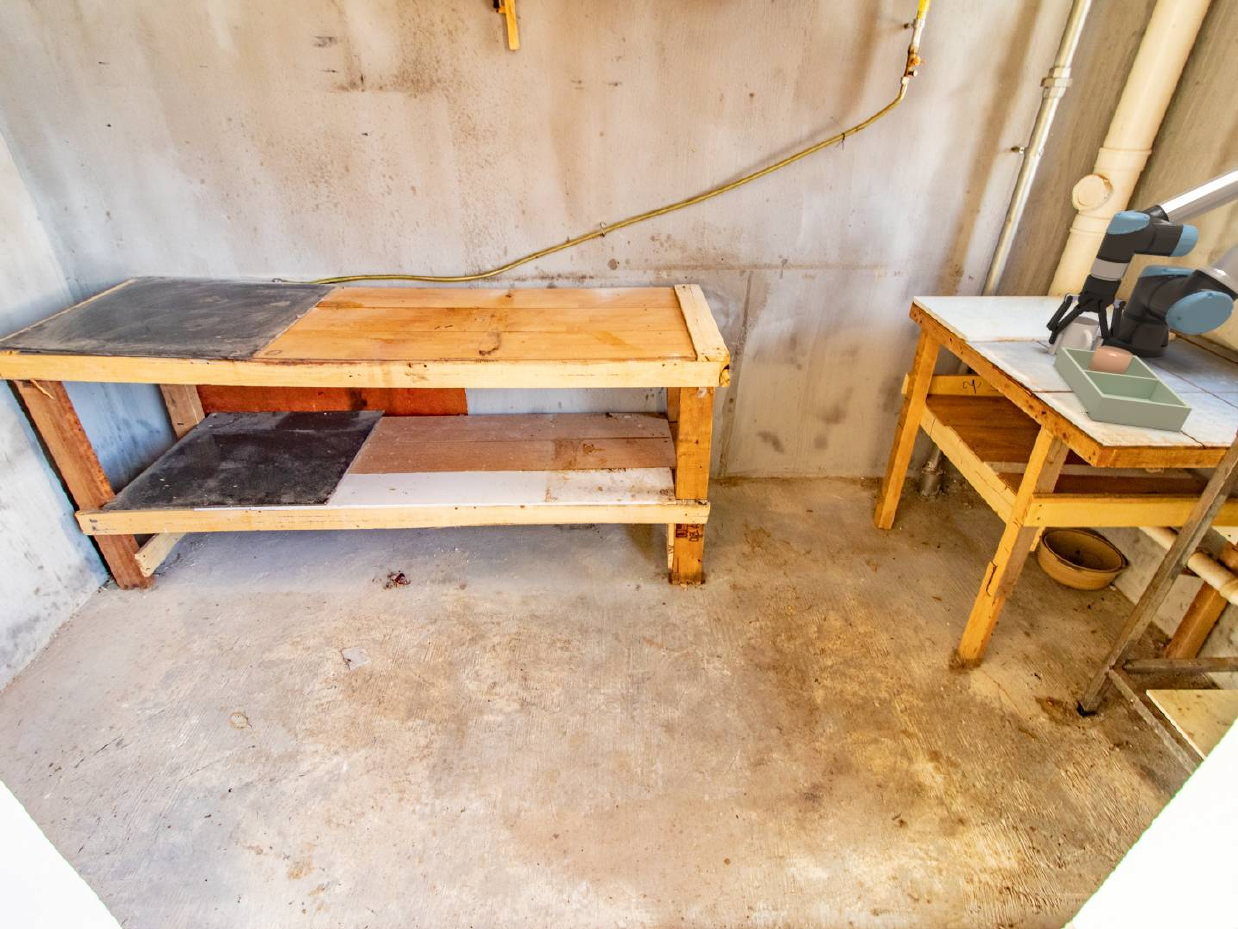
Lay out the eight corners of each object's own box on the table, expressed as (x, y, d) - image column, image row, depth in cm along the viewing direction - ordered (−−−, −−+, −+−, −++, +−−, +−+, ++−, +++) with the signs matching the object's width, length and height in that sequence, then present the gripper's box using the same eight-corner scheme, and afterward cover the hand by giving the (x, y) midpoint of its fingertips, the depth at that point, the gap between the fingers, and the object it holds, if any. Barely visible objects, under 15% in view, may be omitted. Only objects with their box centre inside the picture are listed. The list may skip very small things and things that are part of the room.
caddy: (1126, 376, 169) (1136, 355, 166) (1179, 431, 144) (1192, 408, 141) (1052, 367, 173) (1060, 347, 170) (1091, 419, 148) (1102, 397, 145)
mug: (1096, 368, 173) (1113, 331, 168) (1063, 366, 174) (1079, 329, 169) (1075, 351, 183) (1091, 316, 178) (1045, 349, 184) (1059, 313, 179)
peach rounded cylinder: (1111, 377, 167) (1125, 348, 162) (1123, 389, 160) (1138, 359, 156) (1079, 373, 168) (1092, 344, 164) (1089, 385, 162) (1102, 355, 158)
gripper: (1147, 276, 168) (1109, 357, 180) (1053, 267, 172) (1022, 347, 184) (1160, 285, 161) (1119, 368, 173) (1062, 275, 166) (1029, 357, 178)
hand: (1069, 357), depth 179 cm, fingers open, 9 cm apart
